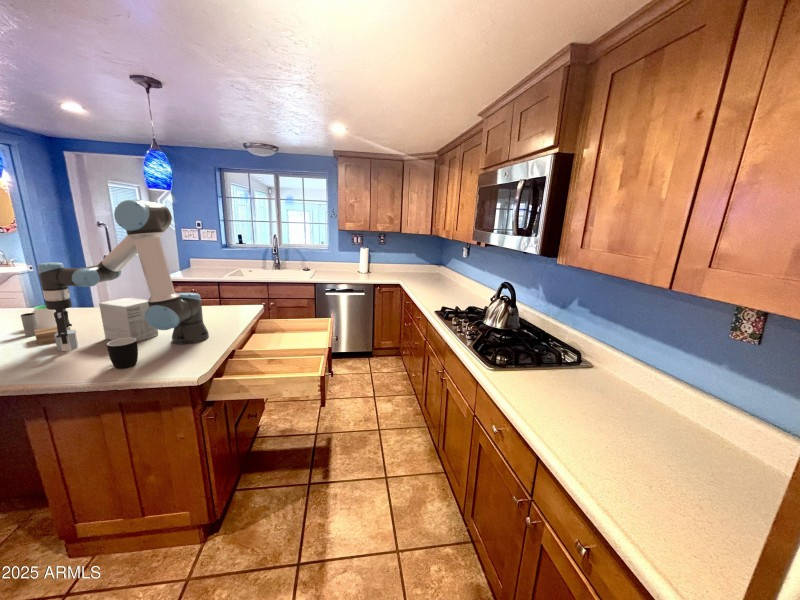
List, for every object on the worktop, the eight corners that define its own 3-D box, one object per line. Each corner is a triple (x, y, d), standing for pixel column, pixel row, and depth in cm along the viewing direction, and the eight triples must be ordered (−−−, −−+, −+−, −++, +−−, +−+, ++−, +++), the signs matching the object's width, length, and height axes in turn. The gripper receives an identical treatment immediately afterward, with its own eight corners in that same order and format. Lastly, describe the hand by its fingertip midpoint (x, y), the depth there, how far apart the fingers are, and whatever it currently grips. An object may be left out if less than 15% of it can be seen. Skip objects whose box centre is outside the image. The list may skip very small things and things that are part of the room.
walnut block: (66, 340, 147) (64, 330, 146) (37, 345, 140) (35, 334, 139) (64, 335, 153) (62, 325, 152) (36, 340, 146) (34, 329, 145)
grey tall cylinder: (24, 335, 150) (19, 314, 148) (38, 332, 154) (34, 312, 152) (26, 337, 148) (21, 316, 145) (40, 334, 152) (36, 314, 149)
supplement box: (159, 335, 158) (154, 300, 154) (131, 344, 146) (125, 306, 141) (134, 330, 162) (128, 296, 158) (104, 339, 150) (97, 302, 146)
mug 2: (32, 331, 155) (28, 311, 152) (23, 329, 157) (18, 309, 155) (65, 325, 166) (60, 305, 163) (56, 322, 168) (51, 304, 166)
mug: (145, 363, 128) (141, 340, 125) (118, 372, 120) (113, 347, 117) (128, 357, 132) (125, 334, 130) (102, 365, 125) (97, 341, 122)
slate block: (77, 348, 139) (74, 333, 138) (57, 351, 135) (54, 335, 134) (78, 343, 143) (75, 329, 142) (58, 346, 139) (55, 332, 138)
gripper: (68, 304, 128) (78, 352, 133) (71, 292, 145) (80, 335, 150) (41, 306, 123) (52, 357, 128) (47, 294, 140) (57, 339, 145)
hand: (67, 345), depth 139 cm, fingers open, 13 cm apart
